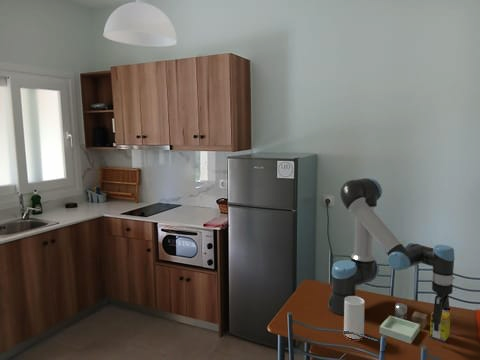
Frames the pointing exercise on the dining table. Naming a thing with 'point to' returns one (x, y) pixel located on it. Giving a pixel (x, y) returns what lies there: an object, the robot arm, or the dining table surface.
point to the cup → (354, 316)
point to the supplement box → (442, 327)
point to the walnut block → (420, 319)
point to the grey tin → (401, 311)
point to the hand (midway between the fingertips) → (440, 330)
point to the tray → (399, 329)
